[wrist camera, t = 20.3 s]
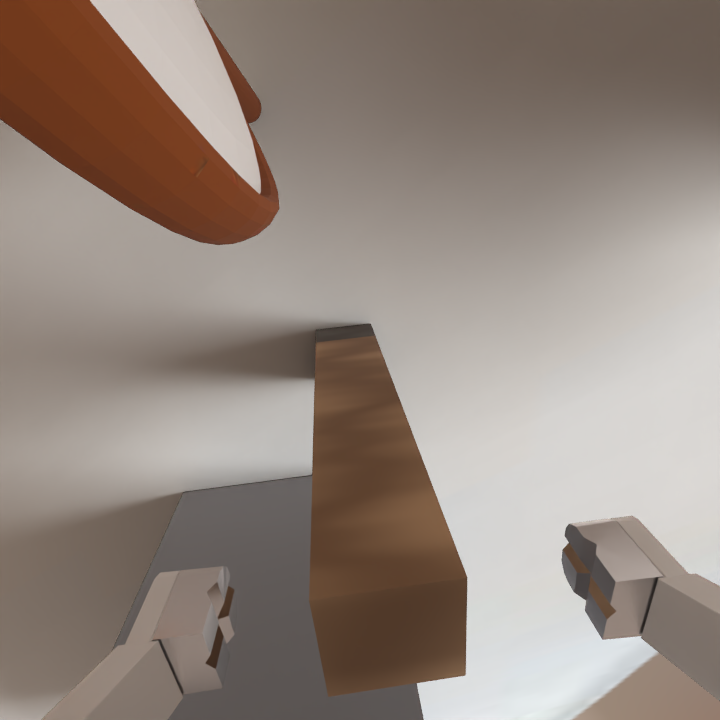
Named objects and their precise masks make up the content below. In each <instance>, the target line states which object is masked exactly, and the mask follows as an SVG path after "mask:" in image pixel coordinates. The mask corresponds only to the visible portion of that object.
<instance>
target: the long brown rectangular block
mask: <svg viewBox="0 0 720 720" xmlns="http://www.w3.org/2000/svg"><path fill="white" fill-rule="evenodd" d="M309 603H310V608H311V613H312V618H313V623H314V628H315V633H316V638H317V643H318V648H319V653H320V658H321V663H322V668H323V673H324V678H325V683H326V688H327V693H328V697H331V696H338V695H344V694H350V693H357V692H363V691H369V690H376V689H382V688H388V687H395V686H401V685H407V684H414V683H420V682H426V681H433V680H439V679H445V678H452V677H458V676H464V675H465V674H466V617H467V576H466V573H465V570H464V568H463V565H462V562H461V560H460V557H459V555H458V552H457V549H456V547H455V544H454V541H453V539H452V536H451V533H450V531H449V528H448V526H447V523H446V520H445V518H444V515H443V512H442V510H441V507H440V505H439V502H438V499H437V497H436V494H435V491H434V489H433V486H432V484H431V481H430V478H429V476H428V473H427V470H426V468H425V465H424V463H423V460H422V457H421V455H420V452H419V449H418V447H417V444H416V442H415V439H414V436H413V434H412V431H411V428H410V426H409V423H408V421H407V418H406V415H405V413H404V410H403V407H402V405H401V402H400V399H399V397H398V394H397V392H396V389H395V386H394V384H393V381H392V378H391V376H390V373H389V371H388V368H387V365H386V363H385V360H384V357H383V355H382V352H381V350H380V347H379V344H378V342H377V339H376V336H375V334H374V331H373V329H372V326H371V324H364V325H356V326H347V327H338V328H329V329H320V330H316V352H315V391H314V429H313V468H312V506H311V545H310V584H309Z"/></svg>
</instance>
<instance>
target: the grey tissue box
mask: <svg viewBox="0 0 720 720" xmlns="http://www.w3.org/2000/svg"><path fill="white" fill-rule="evenodd" d="M311 506H312V476H304V477H297V478H289V479H282V480H274V481H266V482H259V483H251V484H243V485H236V486H228V487H221V488H213V489H205V490H198V491H190V492H183V494H182V497H181V499H180V501H179V503H178V505H177V508H176V510H175V512H174V514H173V517H172V519H171V521H170V523H169V525H168V528H167V530H166V532H165V534H164V536H163V539H162V541H161V543H160V545H159V548H158V550H157V552H156V554H155V556H154V559H153V561H152V563H151V565H150V567H149V570H148V572H147V574H146V576H145V579H144V581H143V583H142V585H141V587H140V590H139V592H138V594H137V596H136V598H135V601H134V603H133V605H132V607H131V610H130V612H129V614H128V616H127V618H126V621H125V623H124V625H123V627H122V629H121V632H120V634H119V636H118V638H117V641H116V643H115V645H114V647H113V649H112V651H113V650H114V649H115V648H116V647H117V646H118V645H125V643H126V641H127V639H128V637H129V634H130V632H131V630H132V628H133V625H134V623H135V621H136V619H137V616H138V614H139V612H140V610H141V608H142V605H143V603H144V601H145V599H146V596H147V594H148V592H149V590H150V588H151V585H152V583H153V581H154V579H155V578H156V577H157V576H158V574H159V573H161V572H171V571H180V570H189V569H199V568H210V567H221V566H226V567H227V568H228V571H229V574H230V580H229V584H228V586H230V587H231V588H233V589H234V590H235V593H236V597H237V604H238V613H237V624H236V629H235V634H234V636H233V637H232V638H231V639H230V641H229V642H228V643H227V648H228V651H229V654H230V658H229V662H228V667H227V672H226V676H225V681H224V685H223V688H222V689H215V690H209V691H203V692H197V693H190V694H184V695H183V698H182V700H181V701H180V703H179V704H178V706H177V707H176V708H175V710H174V711H173V713H172V714H171V716H170V717H169V718H168V720H424V719H423V714H422V709H421V704H420V699H419V694H418V689H417V683H414V684H407V685H401V686H395V687H388V688H382V689H376V690H369V691H363V692H357V693H350V694H344V695H338V696H331V697H328V693H327V688H326V683H325V678H324V673H323V668H322V663H321V658H320V653H319V648H318V643H317V638H316V633H315V628H314V623H313V618H312V613H311V608H310V603H309V584H310V545H311Z"/></svg>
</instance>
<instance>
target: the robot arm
mask: <svg viewBox="0 0 720 720" xmlns="http://www.w3.org/2000/svg"><path fill="white" fill-rule="evenodd" d="M565 537H566V538H567V540H568V542H569V543H568V544H567V546H566V547H565V548H564V549H563V552H562V564H563V569H564V573H565V576H566V578H567V580H568V583H569V584H570V586H571V588H572V589H573V591H574V592H575V593H576V594H578V595H579V596H580V597H582V598H583V599H585V600H586V606H585V611H586V613H587V615H588V616H589V618H590V620H591V621H592V623H593V625H594V626H595V628H596V630H597V631H598V633H599V635H600V636H601V638H602V640H604V639H615V638H625V637H635V636H642V637H641V638H642V639H643V640H644V641H645V642H647V643H648V644H649V645H650V646H652V647H653V648H654V649H655V650H657V651H658V652H659V653H660V654H662V655H663V656H664V657H665V658H667V659H668V660H669V661H670V662H672V663H673V664H674V665H675V666H676V667H678V668H679V669H680V670H681V671H683V672H684V673H685V674H687V675H688V676H689V677H691V679H693V680H694V681H695V682H696V683H698V684H699V685H700V686H701V687H703V688H704V689H705V690H706V691H708V692H709V693H710V694H711V695H713V696H714V697H715V698H716V699H718V700H719V701H720V586H718V585H717V584H715V583H713V582H711V581H709V580H707V579H705V578H703V577H701V576H700V575H698V574H688V572H687V571H686V570H685V569H684V568H683V567H682V566H681V565H680V564H679V563H678V562H677V561H676V560H675V558H674V557H673V556H672V555H671V554H670V553H669V552H668V551H667V550H666V549H665V548H664V547H663V545H662V544H661V543H660V542H659V541H658V540H657V539H656V538H655V537H654V536H653V535H652V534H651V533H650V531H649V530H648V529H647V528H646V527H645V526H644V525H643V524H642V523H641V522H640V521H639V520H638V519H637V518H635V517H633V516H627V517H619V518H611V519H601V520H594V521H586V522H579V523H571V524H569V525H568V526H567V527H566V531H565ZM229 580H230V574H229V571H228V568H227V567H226V566H221V567H210V568H199V569H189V570H180V571H171V572H161V573H159V574H158V576H157V577H156V578H155V579H154V581H153V583H152V585H151V588H150V590H149V592H148V594H147V596H146V599H145V601H144V603H143V605H142V608H141V610H140V612H139V614H138V616H137V619H136V621H135V623H134V625H133V628H132V630H131V632H130V634H129V637H128V639H127V641H126V643H125V645H118V646H117V647H116V648H115V649H114V650H113V651H112V652H111V653H110V654H109V655H108V656H107V657H106V658H105V659H104V660H103V661H101V662H100V663H99V664H98V665H97V666H96V667H95V668H94V669H93V670H92V671H91V672H90V673H89V674H88V675H87V676H86V677H85V678H84V679H83V680H82V681H81V682H80V683H79V684H78V685H77V686H76V687H75V688H74V689H72V690H71V691H70V692H69V693H68V694H67V695H66V696H65V697H64V698H63V699H62V700H61V701H60V702H59V703H58V704H57V705H56V706H55V707H54V708H53V709H52V710H51V711H50V712H49V713H48V714H47V715H46V716H45V717H43V718H42V719H41V720H168V718H169V717H170V716H171V714H172V713H173V711H174V710H175V708H176V707H177V706H178V704H179V703H180V701H181V700H182V698H183V695H184V694H190V693H197V692H203V691H209V690H215V689H222V688H223V685H224V681H225V676H226V672H227V667H228V662H229V658H230V654H229V651H228V648H227V643H228V642H229V641H230V639H231V638H232V637H233V636H234V634H235V629H236V624H237V613H238V604H237V597H236V593H235V590H234V589H233V588H231V587H230V586H228V584H229Z"/></svg>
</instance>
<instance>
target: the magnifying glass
mask: <svg viewBox="0 0 720 720" xmlns="http://www.w3.org/2000/svg"><path fill="white" fill-rule="evenodd" d="M260 113H261V103H260V101H259V99H258V97H257V96H256V94H255V93H254V91H253V90H252V88H251V87H250V85H249V84H248V82H247V81H246V79H245V78H244V76H243V75H242V73H241V72H240V70H239V69H238V67H237V66H236V64H235V63H234V61H233V60H232V58H231V57H230V55H229V54H228V52H227V51H226V49H225V48H224V47H223V45H222V44H221V42H220V41H219V39H218V38H217V36H216V35H215V33H214V32H213V30H212V29H211V27H210V26H209V24H208V23H207V21H206V20H205V18H204V17H203V15H202V14H201V12H200V11H199V9H198V7H197V5H196V3H195V1H194V0H0V119H1V120H2V121H3V122H5V123H6V124H8V125H9V126H10V127H12V128H13V129H14V130H16V131H17V132H18V133H20V134H21V135H23V136H24V137H25V138H27V139H28V140H29V141H31V142H32V143H34V144H35V145H36V146H38V147H39V148H40V149H42V150H43V151H44V152H46V153H47V154H49V155H50V156H51V157H53V158H54V159H55V160H57V161H58V162H60V163H61V164H63V165H64V166H66V167H67V168H69V169H70V170H72V171H73V172H75V173H76V174H78V175H79V176H81V177H83V178H84V179H86V180H87V181H89V182H90V183H92V184H93V185H95V186H96V187H98V188H99V189H101V190H103V191H104V192H106V193H107V194H109V195H110V196H112V197H113V198H115V199H116V200H118V201H119V202H121V203H123V204H124V205H126V206H127V207H129V208H130V209H132V210H134V211H136V212H138V213H139V214H141V215H143V216H145V217H147V218H149V219H150V220H152V221H154V222H156V223H158V224H160V225H161V226H163V227H165V228H167V229H169V230H171V231H173V232H175V233H178V234H180V235H183V236H185V237H188V238H191V239H193V240H196V241H198V242H203V243H209V244H215V245H223V244H234V243H237V242H241V241H244V240H246V239H249V238H251V237H253V236H255V235H258V234H259V233H260V232H261V231H262V230H264V229H265V228H266V227H267V226H268V225H270V223H271V222H272V220H273V218H274V217H275V215H276V213H277V212H278V210H279V199H278V191H277V187H276V184H275V181H274V178H273V176H272V173H271V171H270V168H269V166H268V164H267V161H266V159H265V157H264V155H263V153H262V150H261V148H260V146H259V144H258V142H257V140H256V138H255V136H254V134H253V132H252V130H251V128H250V126H249V124H248V123H252V122H254V121H256V120H257V119H258V118H259V116H260Z"/></svg>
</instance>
